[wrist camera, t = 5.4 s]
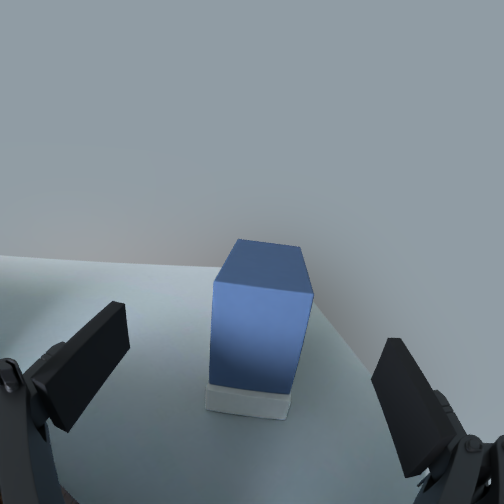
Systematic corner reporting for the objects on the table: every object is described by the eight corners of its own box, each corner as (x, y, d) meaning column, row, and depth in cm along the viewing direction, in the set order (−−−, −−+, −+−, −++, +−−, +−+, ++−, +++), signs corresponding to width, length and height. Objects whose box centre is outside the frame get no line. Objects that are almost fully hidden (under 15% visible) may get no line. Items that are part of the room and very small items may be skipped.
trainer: (283, 318, 29) (297, 234, 26) (285, 420, 16) (317, 298, 13) (234, 311, 29) (242, 227, 27) (205, 409, 16) (208, 284, 13)
